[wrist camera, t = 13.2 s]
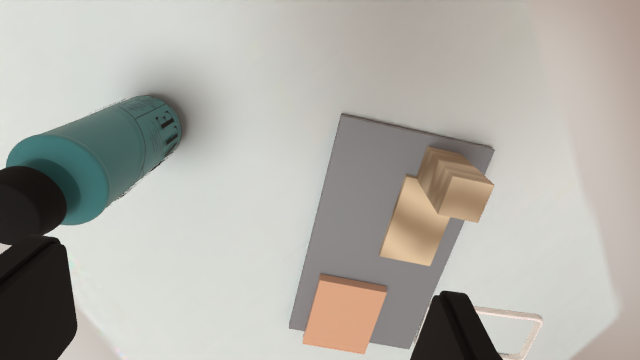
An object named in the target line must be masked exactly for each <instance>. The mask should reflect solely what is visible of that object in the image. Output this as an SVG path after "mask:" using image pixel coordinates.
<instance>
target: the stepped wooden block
mask: <svg viewBox="0 0 640 360" xmlns="http://www.w3.org/2000/svg"><path fill="white" fill-rule="evenodd" d="M493 188H494V184H493V183H492V182H491V181H490V180H488V179H487V178H486V177H485V176H484V175H483V174H482V173H481V172H480V171H479V170H478V169H477V168H476V167H474V166H473V165H472V164H471V163H470V162H469V161H468V160H467V159H466V158H465V157H464V156H463V155H462V154H460V153H455V152H451V151H446V150H442V149H437V148H433V147H428V146H427V148H426V151H425V153H424V156H423V159H422V162H421V165H420V168H419V170H418V173H417V176H412V175H407V174H405V177H404V180H403V183H402V186H401V189H400V192H399V195H398V197H397V200H396V203H395V206H394V209H393V212H392V215H391V218H390V221H389V224H388V227H387V230H386V233H385V236H384V239H383V242H382V245H381V248H380V251H379V256H380V257H385V258H390V259H395V260H401V261H406V262H411V263H416V264H421V265H426V266H430V265H431V263H432V260H433V258H434V255H435V253H436V251H437V248H438V246H439V243H440V241H441V238H442V236H443V234H444V231H445V229H446V226H447V224H448V221H449V219H450V217H452V218H457V219H462V220H467V221H472V222H477V223H478V221H479V219H480V217H481V215H482V212H483V210H484V208H485V206H486V203H487V201H488V199H489V197H490V194H491V192H492V190H493Z"/></svg>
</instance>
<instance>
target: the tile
mask: <svg viewBox="0 0 640 360" xmlns="http://www.w3.org/2000/svg"><path fill="white" fill-rule="evenodd" d="M386 294H387V291H386V287H385V286H383V285H377V284H372V283H366V282H361V281H356V280H350V279H345V278H340V277H334V276H329V275H324V274H320V276H319V279H318V283H317V287H316V290H315V294H314V298H313V301H312V305H311V309H310V312H309V316H308V320H307V323H306V327H305V331H304V334H303V344H307V345H313V346H319V347H325V348H330V349H336V350H342V351H348V352H354V353H360V354H365V351H366V348H367V346H368V343H369V340H370V337H371V335H372V332H373V329H374V327H375V324H376V321H377V318H378V316H379V313H380V310H381V308H382V305H383V302H384V299H385V297H386Z"/></svg>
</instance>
